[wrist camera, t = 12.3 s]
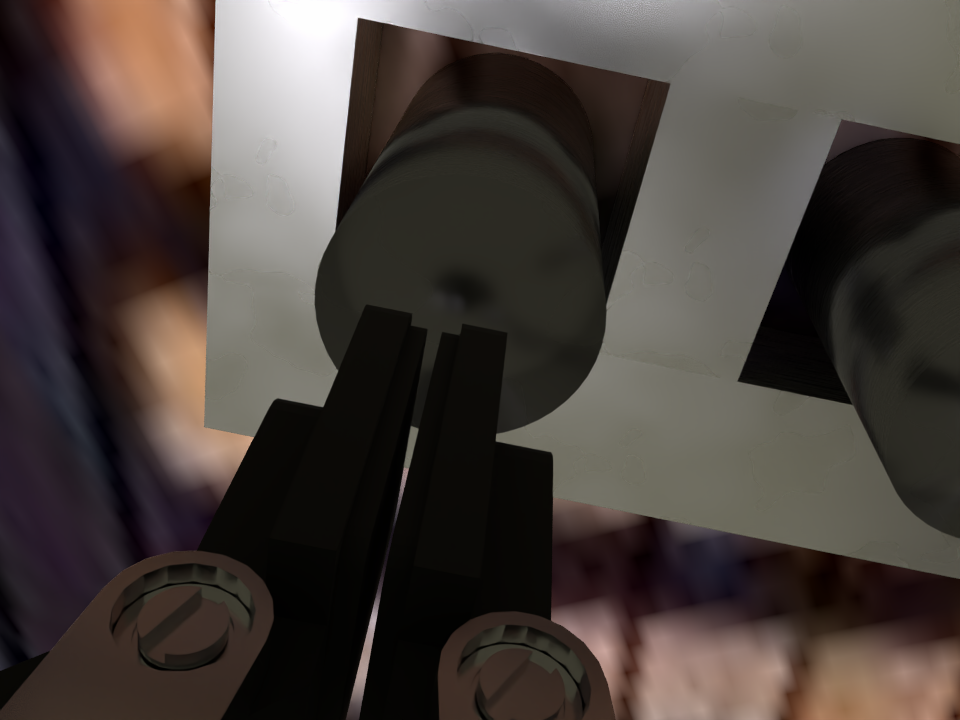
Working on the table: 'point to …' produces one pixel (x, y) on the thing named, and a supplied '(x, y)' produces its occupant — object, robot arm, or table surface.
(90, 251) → the table surface
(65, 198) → the table surface
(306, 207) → the jig
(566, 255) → the dark grey cylinder
